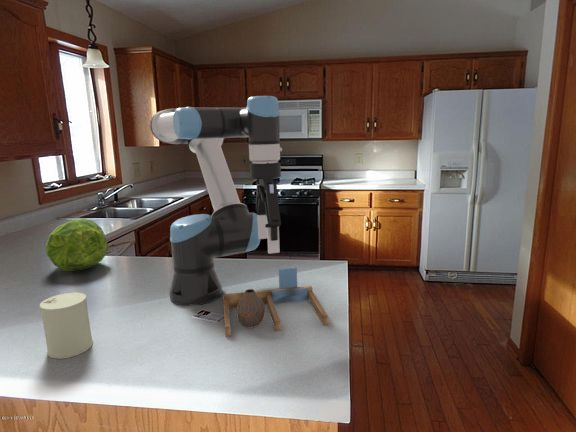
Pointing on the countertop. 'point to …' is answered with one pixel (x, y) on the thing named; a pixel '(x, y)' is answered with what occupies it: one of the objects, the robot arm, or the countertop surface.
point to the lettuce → (77, 245)
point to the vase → (250, 309)
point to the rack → (276, 297)
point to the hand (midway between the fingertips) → (268, 245)
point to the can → (66, 325)
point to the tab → (287, 277)
